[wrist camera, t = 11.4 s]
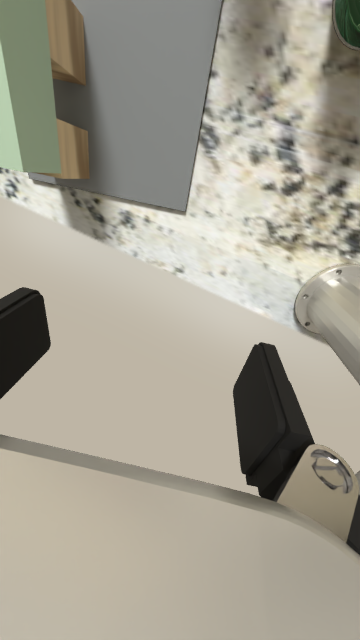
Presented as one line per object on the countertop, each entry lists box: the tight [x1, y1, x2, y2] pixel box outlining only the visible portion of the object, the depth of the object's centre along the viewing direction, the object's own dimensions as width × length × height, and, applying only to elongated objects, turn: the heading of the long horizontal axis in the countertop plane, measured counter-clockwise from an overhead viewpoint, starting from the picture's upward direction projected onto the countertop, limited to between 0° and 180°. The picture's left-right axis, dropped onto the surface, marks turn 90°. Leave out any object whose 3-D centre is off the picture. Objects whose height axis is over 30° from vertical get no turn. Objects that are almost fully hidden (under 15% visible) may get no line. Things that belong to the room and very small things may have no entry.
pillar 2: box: [32, 118, 90, 179], centre depth 25 cm, size 5×5×7 cm
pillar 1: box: [45, 0, 86, 86], centre depth 21 cm, size 5×5×7 cm
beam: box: [0, 0, 61, 174], centre depth 18 cm, size 5×13×6 cm, turn 170°
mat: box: [28, 0, 222, 211], centre depth 24 cm, size 22×27×1 cm
